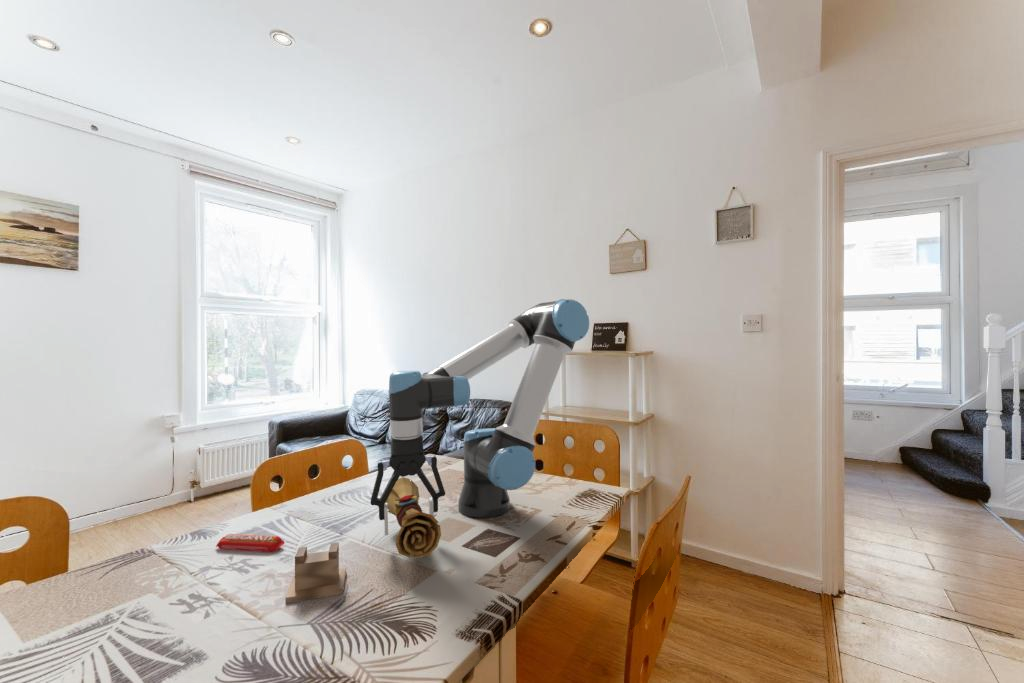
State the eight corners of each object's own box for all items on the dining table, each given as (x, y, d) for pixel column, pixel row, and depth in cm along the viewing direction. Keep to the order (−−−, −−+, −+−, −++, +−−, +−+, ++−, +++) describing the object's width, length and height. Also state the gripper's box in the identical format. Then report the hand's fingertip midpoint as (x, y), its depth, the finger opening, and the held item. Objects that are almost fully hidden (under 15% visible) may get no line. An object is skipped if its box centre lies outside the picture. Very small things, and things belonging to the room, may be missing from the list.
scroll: (442, 556, 92) (441, 509, 92) (396, 566, 88) (395, 518, 88) (419, 510, 117) (418, 473, 117) (382, 516, 113) (381, 479, 113)
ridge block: (346, 572, 91) (345, 537, 91) (342, 593, 83) (342, 555, 83) (294, 580, 88) (293, 543, 88) (285, 603, 80) (285, 563, 80)
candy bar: (213, 551, 101) (213, 538, 101) (225, 544, 105) (225, 531, 105) (276, 554, 99) (276, 541, 99) (286, 547, 103) (286, 534, 103)
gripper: (451, 428, 109) (453, 516, 109) (357, 437, 103) (360, 529, 103) (456, 434, 102) (458, 528, 102) (355, 444, 95) (358, 543, 96)
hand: (409, 529), depth 102 cm, fingers closed on scroll, 10 cm apart
